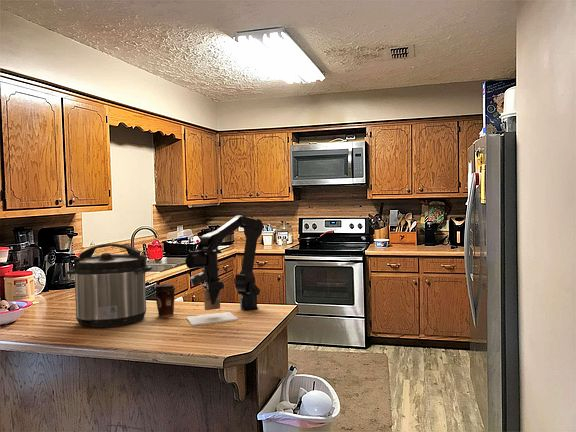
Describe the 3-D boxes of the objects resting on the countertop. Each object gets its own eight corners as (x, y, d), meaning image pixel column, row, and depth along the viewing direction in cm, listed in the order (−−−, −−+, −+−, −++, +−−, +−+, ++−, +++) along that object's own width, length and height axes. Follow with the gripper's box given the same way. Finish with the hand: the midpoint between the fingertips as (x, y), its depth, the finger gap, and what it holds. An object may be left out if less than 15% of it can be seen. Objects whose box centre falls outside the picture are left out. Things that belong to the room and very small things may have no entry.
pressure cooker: (165, 315, 203) (161, 240, 202) (116, 332, 177) (112, 247, 176) (111, 311, 215) (107, 241, 214) (58, 327, 189) (54, 247, 188)
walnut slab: (219, 307, 196) (218, 288, 196) (220, 308, 194) (219, 288, 194) (204, 309, 194) (203, 289, 193) (205, 310, 192) (204, 290, 192)
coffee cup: (155, 318, 197) (153, 287, 196) (155, 314, 205) (153, 284, 204) (176, 316, 199) (175, 285, 199) (176, 312, 207) (174, 282, 207)
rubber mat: (229, 313, 201) (229, 311, 201) (237, 320, 188) (237, 318, 188) (186, 318, 195) (186, 316, 195) (191, 326, 182) (191, 324, 182)
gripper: (187, 264, 199) (188, 302, 200) (194, 270, 182) (196, 310, 182) (213, 262, 203) (215, 299, 204) (223, 267, 186) (225, 307, 186)
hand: (212, 303), depth 194 cm, fingers closed on walnut slab, 2 cm apart
